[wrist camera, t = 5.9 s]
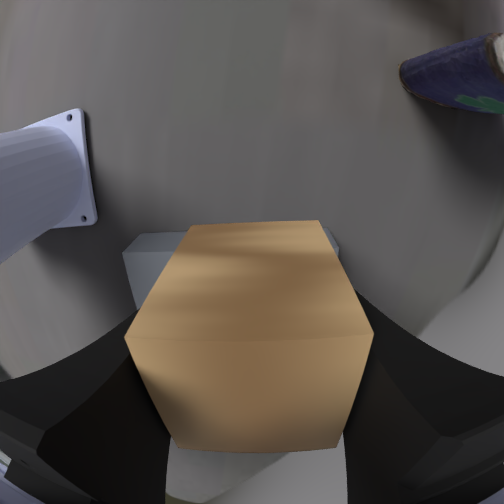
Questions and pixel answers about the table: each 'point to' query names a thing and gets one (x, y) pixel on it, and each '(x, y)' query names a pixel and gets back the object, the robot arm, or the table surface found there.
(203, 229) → the oak block
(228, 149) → the table surface
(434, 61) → the flask
